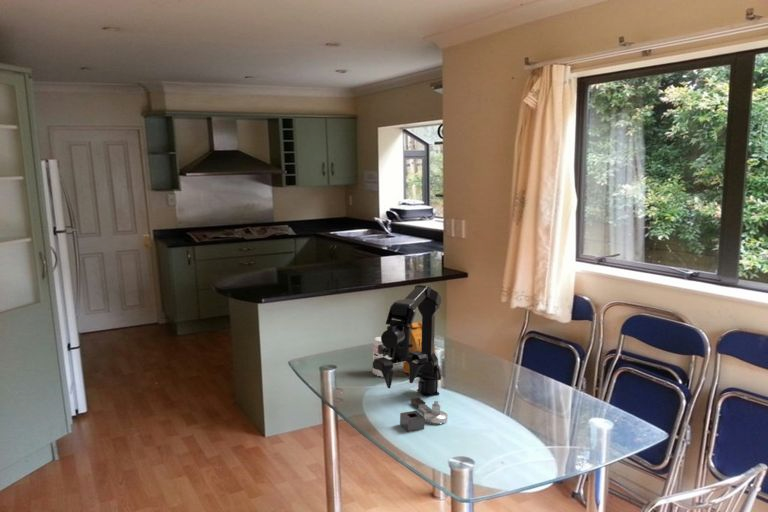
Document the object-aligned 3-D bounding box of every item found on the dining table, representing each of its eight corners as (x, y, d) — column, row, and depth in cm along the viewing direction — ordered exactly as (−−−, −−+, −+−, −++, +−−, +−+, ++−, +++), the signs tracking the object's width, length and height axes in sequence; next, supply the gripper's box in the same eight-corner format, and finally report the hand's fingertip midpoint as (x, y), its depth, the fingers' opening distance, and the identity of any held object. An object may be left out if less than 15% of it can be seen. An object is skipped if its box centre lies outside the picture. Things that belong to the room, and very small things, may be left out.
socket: (415, 421, 199) (416, 410, 198) (424, 429, 194) (424, 417, 193) (399, 424, 197) (400, 413, 196) (407, 432, 191) (408, 420, 191)
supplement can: (394, 372, 246) (395, 337, 244) (388, 378, 239) (389, 342, 236) (376, 369, 249) (377, 335, 247) (369, 375, 241) (370, 340, 239)
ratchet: (424, 401, 217) (425, 384, 216) (451, 422, 199) (452, 404, 198) (405, 404, 213) (405, 387, 212) (430, 426, 196) (431, 407, 195)
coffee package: (438, 374, 245) (440, 322, 242) (413, 379, 239) (415, 326, 236) (424, 367, 254) (426, 317, 250) (400, 371, 247) (401, 320, 244)
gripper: (409, 330, 207) (407, 373, 209) (364, 338, 196) (363, 383, 198) (429, 338, 198) (427, 383, 200) (383, 346, 187) (382, 393, 189)
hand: (399, 385), depth 197 cm, fingers open, 9 cm apart
